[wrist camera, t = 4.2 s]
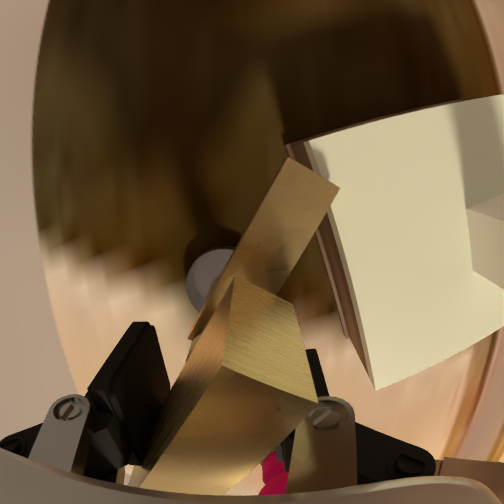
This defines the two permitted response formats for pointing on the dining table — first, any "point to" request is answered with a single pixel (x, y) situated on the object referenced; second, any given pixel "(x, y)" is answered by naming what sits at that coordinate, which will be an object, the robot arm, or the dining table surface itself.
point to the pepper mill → (274, 476)
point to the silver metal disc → (206, 272)
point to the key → (242, 353)
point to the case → (330, 247)
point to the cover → (420, 230)
